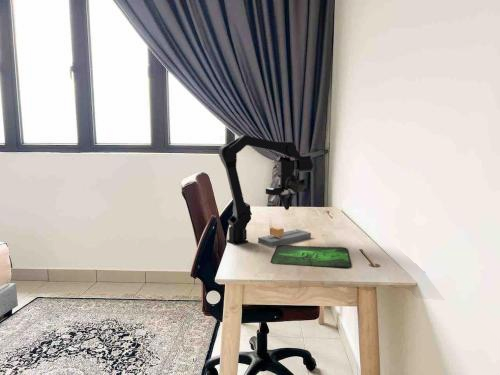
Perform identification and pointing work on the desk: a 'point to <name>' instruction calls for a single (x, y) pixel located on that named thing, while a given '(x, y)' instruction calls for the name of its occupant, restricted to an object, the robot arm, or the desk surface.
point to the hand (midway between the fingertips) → (286, 209)
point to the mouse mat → (311, 256)
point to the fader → (276, 231)
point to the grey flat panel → (284, 238)
